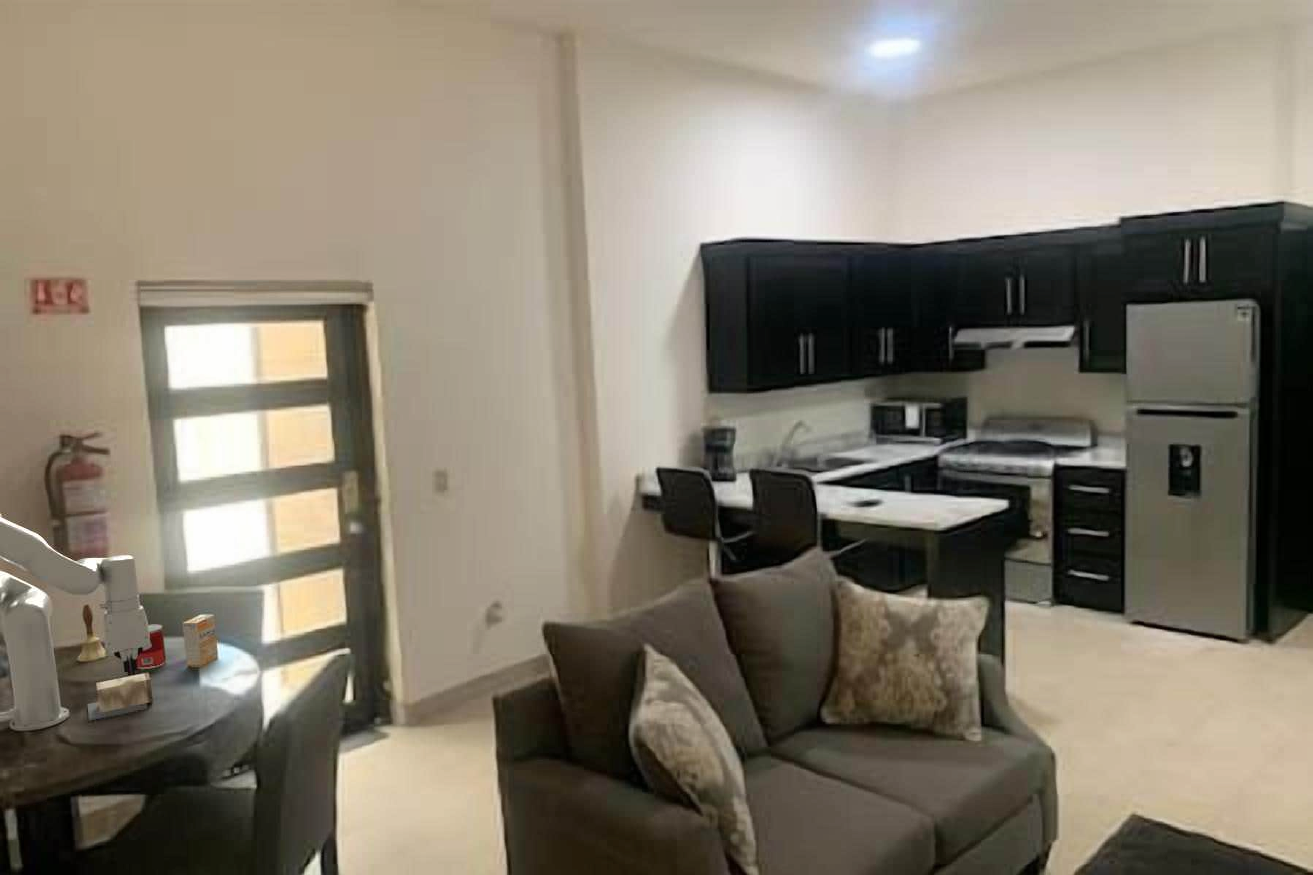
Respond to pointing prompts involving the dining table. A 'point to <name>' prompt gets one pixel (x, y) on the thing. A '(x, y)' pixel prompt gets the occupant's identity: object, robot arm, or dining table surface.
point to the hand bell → (90, 640)
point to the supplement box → (200, 640)
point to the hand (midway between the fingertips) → (131, 673)
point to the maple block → (124, 692)
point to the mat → (95, 711)
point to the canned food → (153, 648)
